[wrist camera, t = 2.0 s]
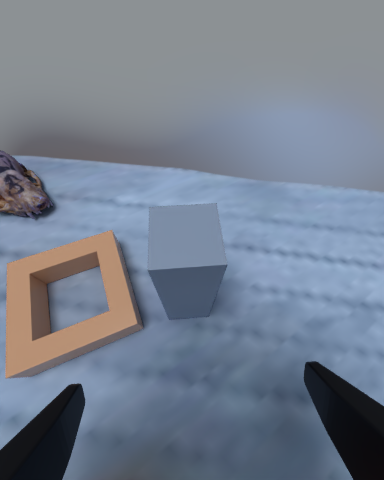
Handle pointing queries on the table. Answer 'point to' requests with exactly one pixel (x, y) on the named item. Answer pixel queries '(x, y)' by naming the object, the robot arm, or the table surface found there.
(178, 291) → the post
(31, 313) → the frame
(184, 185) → the table surface
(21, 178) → the skull
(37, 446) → the robot arm
